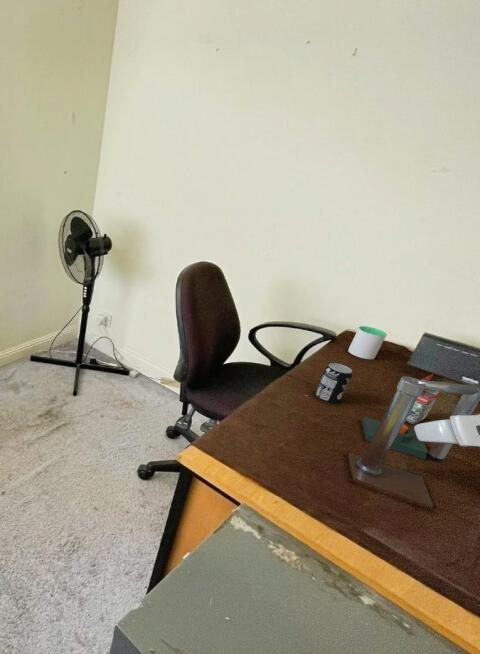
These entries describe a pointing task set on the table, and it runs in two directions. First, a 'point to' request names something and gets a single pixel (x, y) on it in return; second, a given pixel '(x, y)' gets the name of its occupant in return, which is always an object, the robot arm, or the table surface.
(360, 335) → the mug
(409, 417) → the ink box
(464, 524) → the table surface
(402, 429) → the button
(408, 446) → the button box
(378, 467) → the slanted pole stand
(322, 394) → the beverage can
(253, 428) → the table surface
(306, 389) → the table surface
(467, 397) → the spout
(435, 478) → the table surface
